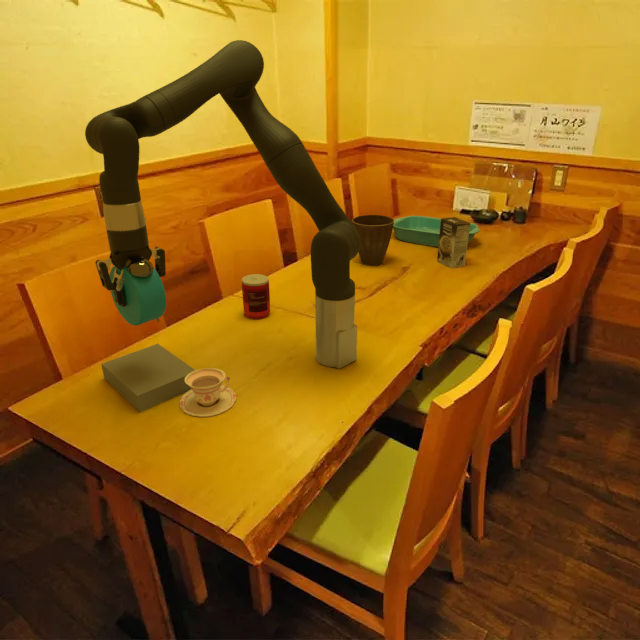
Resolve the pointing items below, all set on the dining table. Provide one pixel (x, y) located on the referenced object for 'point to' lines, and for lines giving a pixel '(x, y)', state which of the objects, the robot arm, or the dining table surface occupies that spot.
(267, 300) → the canned food
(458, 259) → the coffee box
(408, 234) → the casserole dish
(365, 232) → the plant pot
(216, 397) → the teacup
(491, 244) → the dining table surface
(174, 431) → the dining table surface
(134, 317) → the alarm clock
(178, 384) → the plinth
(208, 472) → the dining table surface
